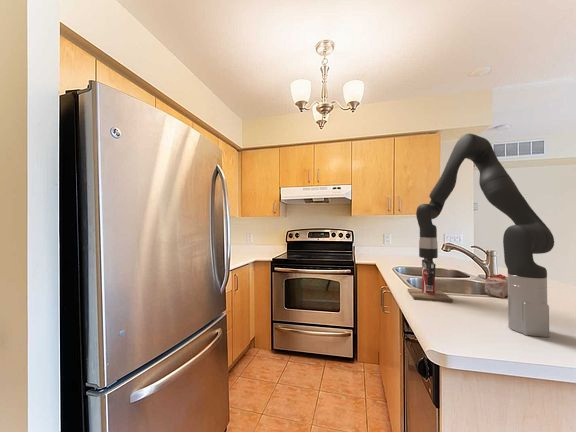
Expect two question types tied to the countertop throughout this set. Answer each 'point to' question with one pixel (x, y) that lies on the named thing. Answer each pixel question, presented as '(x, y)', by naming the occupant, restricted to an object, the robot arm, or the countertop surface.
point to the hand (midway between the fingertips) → (428, 283)
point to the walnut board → (429, 296)
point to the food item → (497, 286)
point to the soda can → (425, 288)
